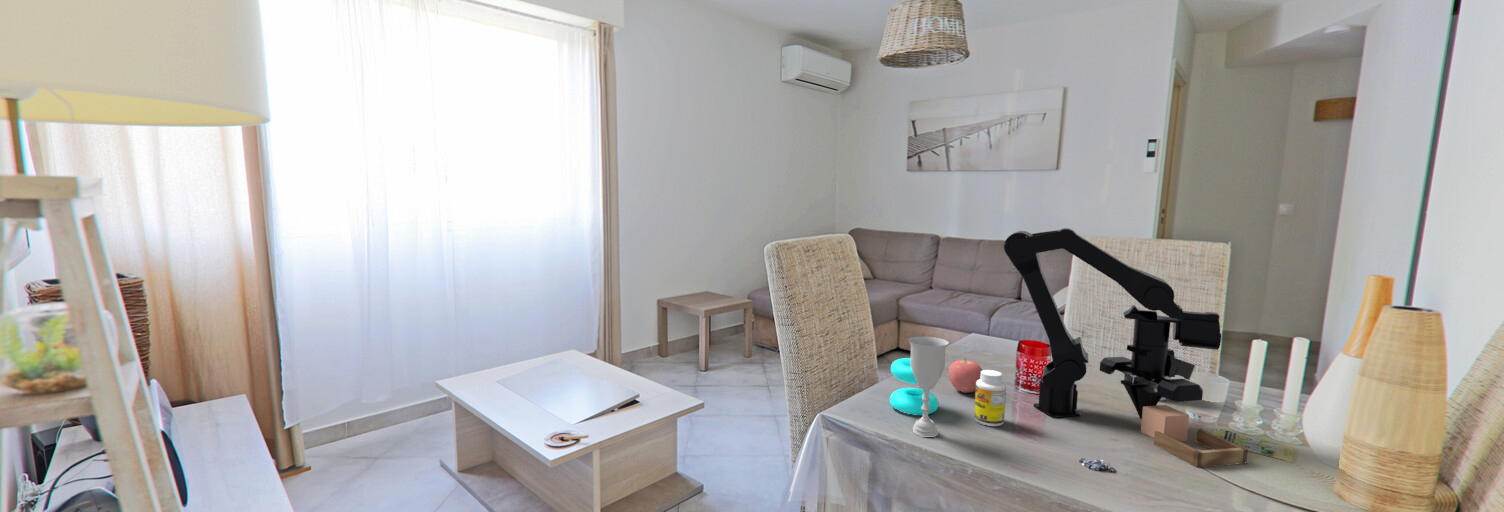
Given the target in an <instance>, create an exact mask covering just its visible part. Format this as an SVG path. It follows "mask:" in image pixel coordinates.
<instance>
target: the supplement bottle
mask: <svg viewBox="0 0 1504 512" xmlns="http://www.w3.org/2000/svg"><path fill="white" fill-rule="evenodd" d="M1006 392H1007V386H1006V383H1005V382H1003V373H1002V372H1000V371H997V370H994V369H993V370H992V369H982V371H981V376H980V379H979V380H977V382H976V390H975V395H974V396H975V397H974V420H975V421H976V422H977V423H978V424H980V425H983V426H986V425H987V427H999V426H1002V425H1003V424H1004V423H1005V413H1006V412H1005V411H1006Z"/></svg>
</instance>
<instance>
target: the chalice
mask: <svg viewBox="0 0 1504 512" xmlns="http://www.w3.org/2000/svg"><path fill="white" fill-rule="evenodd" d="M908 342H909V344H910V358H911V360H910V365H911V368H912V371H913V374H914V377H915V379H916V381H917V383H918V384H917V385H918V387H919V388H920V389H923V390H924V394H923V397H922V400H923V406H922V407H921V409H922V410H923V415H921V416H922V417H920V418H918V419H917V420H915V422H914V425H913V427H912V429H913V432H914V433H916V434H918V435H920V436H935V435H937V434H938V433H939V431H938V428H937V427H936V423H935V421H933V420H932V419H931V418H930V417H929V414H928V413H929V410H930V409H931V408H930V407H929V401H930V400H931V399H930V397H929V392H930V390H932V389H935V387H936V386H937V384H938V382H939V381H940V379H941V377H942V375H943V373H944V370H945V366H946V349H947V346H948V345H949V341H948V340H946V339H943V338H939V337H934V336H913V337H909V338H908Z"/></svg>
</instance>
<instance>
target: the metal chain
mask: <svg viewBox="0 0 1504 512" xmlns="http://www.w3.org/2000/svg"><path fill="white" fill-rule="evenodd" d="M1078 463H1080V464H1081V465H1082V466H1083V467H1085V468H1086V469H1088V470H1091V471H1093V472H1101V473H1105V472H1106V473H1108V474H1114V473H1116V468H1115V467H1112V466H1111V467H1110V466H1109V464H1110V463H1108V462H1104V460H1103V459H1100V460H1099V459H1093V460H1090V459H1088V458H1087V459H1086V458H1084V457H1081V458H1080V460H1079V461H1078Z"/></svg>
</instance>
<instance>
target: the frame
mask: <svg viewBox="0 0 1504 512" xmlns="http://www.w3.org/2000/svg"><path fill="white" fill-rule="evenodd" d="M1196 441H1197V442H1196ZM1195 442H1196V443H1198V442H1199V443H1198V444H1199V445H1203V446H1204V445H1205V446H1204V447H1206V446H1207V447H1206V448H1208V447H1209V449H1206V450H1198V449H1196V448H1194V447H1191V446H1190V445H1188V444H1185V443H1184V442H1183V441H1177V440H1175V439H1173V438H1171V437H1169V436H1167V435H1165V434H1163V433H1161V432H1159V431H1155V435H1154V438H1153V445H1154V446H1156V447H1158V448H1159V449H1161V450H1164V451H1166V453H1168V454H1171V455H1173V456H1175V457H1177V458H1178V459H1181V460H1182V461H1184V462H1186V463H1188V464H1190V465H1192V467H1193V466H1194V467H1196V468H1205V467H1206V468H1207V467H1217V466H1218V467H1219V466H1229V465H1228V464H1233V465H1237V464H1236V463H1245V462H1246V463H1247V461H1248V451H1249V449H1248V448H1246V447H1243V446H1241V445H1239V444H1236V443H1235V442H1232V441H1230V440H1227V439H1226V438H1223V437H1221V436H1218V435H1216V434H1214V433H1212V432H1210V431H1207V430H1206V429H1203V428H1201V427H1199V428H1196V438H1195ZM1210 448H1211V449H1210ZM1213 449H1214V450H1213Z"/></svg>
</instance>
